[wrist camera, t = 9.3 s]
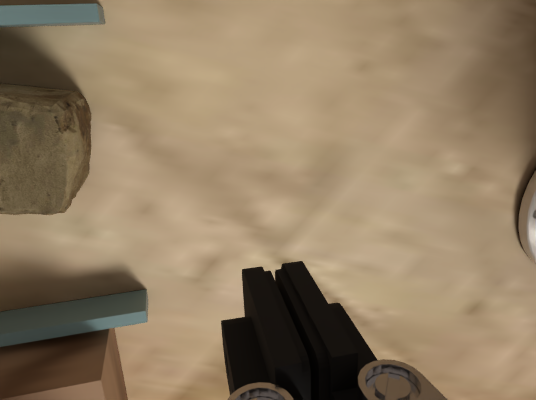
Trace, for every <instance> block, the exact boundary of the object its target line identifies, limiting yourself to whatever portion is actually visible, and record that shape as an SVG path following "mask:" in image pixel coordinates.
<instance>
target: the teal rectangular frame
mask: <svg viewBox="0 0 536 400" xmlns="http://www.w3.org/2000/svg"><path fill="white" fill-rule="evenodd" d="M96 24H105V19H104V12H103V7H101V6H100V5H98V4H52V5H6V6H0V28H1V27H33V26H64V25H96ZM147 321H148V296H147V289H145V290H139V291H132V292H126V293H119V294H113V295H106V296H100V297H93V298H87V299H80V300H74V301H67V302H61V303H54V304H48V305H41V306H35V307H28V308H22V309H15V310H9V311H2V312H0V347H3V346H9V345H15V344H21V343H27V342H33V341H39V340H45V339H50V338H56V337H62V336H68V335H74V334H80V333H86V332H92V331H98V330H104V329H110V328H116V327H121V326H127V325H133V324H139V323H145V322H147Z"/></svg>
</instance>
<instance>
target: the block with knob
mask: <svg viewBox="0 0 536 400" xmlns="http://www.w3.org/2000/svg"><path fill="white" fill-rule="evenodd" d="M0 400H128V398H127V393H126V388H125V382H124V377H123V372H122V367H121V361H120V356H119V351H118V346H117V341H116V335H115V330H114V328H110V329H104V330H98V331H92V332H86V333H80V334H74V335H68V336H62V337H56V338H50V339H45V340H39V341H33V342H27V343H21V344H15V345H9V346H3V347H0Z"/></svg>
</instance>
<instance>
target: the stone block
mask: <svg viewBox="0 0 536 400" xmlns="http://www.w3.org/2000/svg"><path fill="white" fill-rule="evenodd" d="M90 121H91V112H90V108H89V105H88V103H87V101H86V99H85V98H84V97H83V96H82V95H81V94H80V93H79V92H77V91H69V90H60V89H51V88H41V87H33V86H23V85H13V84H2V83H0V214H13V215H18V214H43V215H53V214H56V213H64V212H65V211H66V210H67V209H68V208H69V206H70V205H71V203H72V199H73V198H75V197H76V193H77V192H78V191H79V190H80V188H81V186H82V185H83V183H84V182H85V180H86V178H87V176H88V174H89V161H90V155H91V134H90V132H91V124H90Z"/></svg>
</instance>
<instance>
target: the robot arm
mask: <svg viewBox="0 0 536 400" xmlns="http://www.w3.org/2000/svg"><path fill="white" fill-rule="evenodd" d="M519 234H520V241H521V243H522V246H523V248H524V251H525V252H526V254H527V255H528V257H529V258H530V259H531V260H532V261H533V262H534V263H535V264H536V171H535V172H534V174H533V176H532V178H531V180H530V181H529V183H528V185H527V188H526V191H525V193H524V196H523V198H522V203H521V207H520V212H519ZM242 281H243V296H244V311H245V317H242V318H235V319H229V320H223V321H221V326H222V338H223V348H224V357H225V365H226V373H227V379H228V385H229V391H230V397H229V398H228V400H447V399H446V398H445V397H444V396H443V395H442V394H441V393H440V392H439V391H438V390H437V389H436V388H435V387H434V386H433V385H432V384H431V383H430V382H429V381H428V380H427V379H426V378H425V377H424V376H423V375H422V374H421V373H420V372H419V371H418V370H416V369H415V368H414V367H412V366H410V365H408V364H406V363H403V362H399V361H395V360H384V359H383V360H377V359H376V357H375V356H374V354H373V353H372V351H371V349H370V348H369V346H368V345H367V343H366V342H365V340H364V339H363V337H362V336H361V334H360V333H359V331H358V330H357V328H356V327H355V325H354V324H353V322H352V321H351V319H350V317H349V316H348V314H347V313H346V311H345V310H344V308H343V307H342V306H341V304H340V303H331V304H328V303H327V301H326V299H325V298H324V296H323V294H322V293H321V291H320V289H319V288H318V286H317V285H316V283H315V281H314V280H313V278H312V276H311V275H310V273H309V271H308V270H307V268H306V266H305V265H304V263H303V262H302V261H299V262H292V263H284V264H282V267H281V269H278V270H276V271H275V280H274V278H273V275H272V273H271V271H264V269H263V267H255V268H248V269H242Z"/></svg>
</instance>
